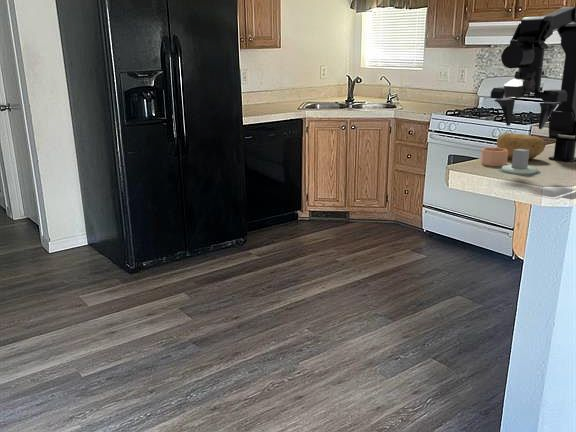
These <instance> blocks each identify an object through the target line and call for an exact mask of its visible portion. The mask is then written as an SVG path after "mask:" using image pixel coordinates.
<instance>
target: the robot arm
mask: <svg viewBox="0 0 576 432" xmlns="http://www.w3.org/2000/svg"><path fill="white" fill-rule="evenodd" d="M555 30H556V31H557V34H558V35H559V37H560V47H561V48H562V50H563V51H564V64H563V72H562V79H561V85H560V86H561V87H560V89H544V90H543V86H542V85H541V83H542V77H543V76H544V75H545V72H546V71H545V70H543V66H544V58H545V50H547V49H548V47H549V46H548V44H547V43H545V42H546V41H547V40H548V39H549V38H550V37H551V36H552V35H553V33H554V31H555ZM500 55H501V56H500V60H501V61H500V62H501V63H502V64H503V66H504V67H505V68H507V69H518V70H516V71H515V73H514V77H513V78H512V79H510V80H509V81H508V82H506V83H504V84H503V86H497V87H493V88H492V90H491V91H490V97H489V98H490V99H494V102H495V103H498V105H499V106H500V108H501V111H502V113H503V117H504V120H505V121H504V122H505V124H506V126H507V127H509V126H511V123H512V119H513V114H514V107H515V102H516V99H519V98H522V99H523V98H524V99H537V100H542V102H539V106H540V114H539V121H538V129H539V130H542V129H543V128H544V126H545V125H546V123H547V121H548V120H549V118H550V120H549V122H548V139H550V140H552V139H554V140H555V141H554V142H555V143H554V151H553V156H548V159H549V160H555V161H561V162H574V161H576V156H575V155H576V6H575V5H574V6H562V7H560V8H559V9H557V10H555V11H551V12H550V13H549V12H548V13H547V14H543V15H541V16H524V17H522V19H521V20H520V22H519V23H518V25H517V28H516V29H515V31H514V33H513V35H512V37H511V40H510V41H509V45H508V46H506V47H505V48H504V50H503V51H502V53H501V54H500ZM515 98H516V99H515Z"/></svg>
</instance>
